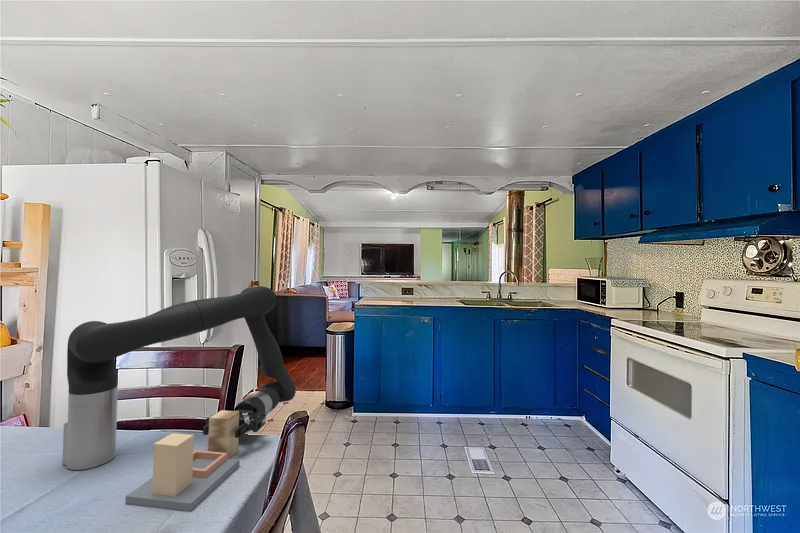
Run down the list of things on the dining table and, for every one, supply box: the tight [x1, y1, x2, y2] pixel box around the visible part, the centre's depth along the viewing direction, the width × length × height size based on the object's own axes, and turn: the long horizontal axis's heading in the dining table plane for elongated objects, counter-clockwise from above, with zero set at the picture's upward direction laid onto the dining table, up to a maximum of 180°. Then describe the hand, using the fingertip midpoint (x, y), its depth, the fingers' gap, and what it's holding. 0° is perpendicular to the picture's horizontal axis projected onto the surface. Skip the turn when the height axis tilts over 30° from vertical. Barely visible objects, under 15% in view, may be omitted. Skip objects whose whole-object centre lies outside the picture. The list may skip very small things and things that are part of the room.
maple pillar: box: [207, 409, 240, 459], centre depth 94 cm, size 5×5×10 cm
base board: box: [125, 432, 241, 512], centre depth 81 cm, size 14×17×12 cm
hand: (220, 432), depth 93 cm, fingers open, 8 cm apart
